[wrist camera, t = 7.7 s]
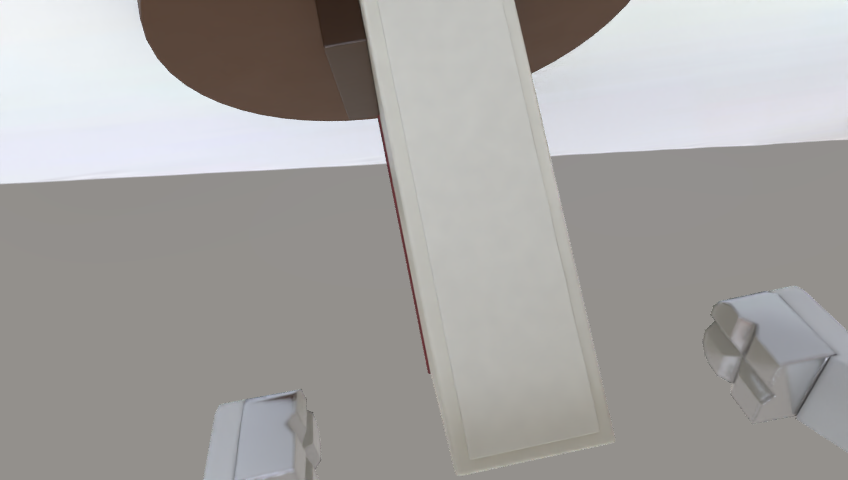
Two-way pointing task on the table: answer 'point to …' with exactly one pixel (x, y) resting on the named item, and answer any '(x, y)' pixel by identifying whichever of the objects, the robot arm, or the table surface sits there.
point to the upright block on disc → (439, 183)
